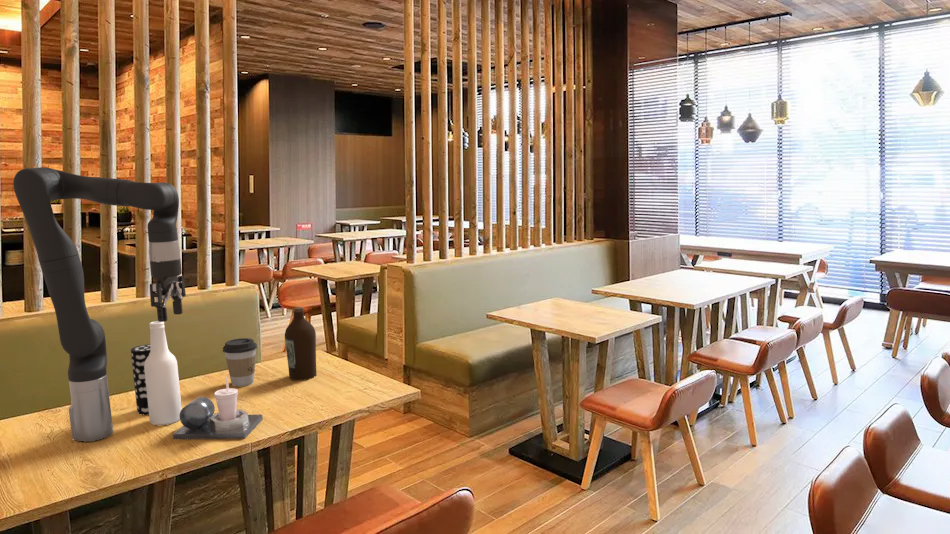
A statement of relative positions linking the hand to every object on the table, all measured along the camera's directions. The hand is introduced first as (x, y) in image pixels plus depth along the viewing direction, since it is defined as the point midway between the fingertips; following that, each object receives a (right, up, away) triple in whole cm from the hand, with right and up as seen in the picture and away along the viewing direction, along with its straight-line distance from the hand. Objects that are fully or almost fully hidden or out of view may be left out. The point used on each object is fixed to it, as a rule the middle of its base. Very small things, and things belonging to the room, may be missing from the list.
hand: (170, 317), depth 178 cm
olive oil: (+21, -26, +58) cm, 66 cm away
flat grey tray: (+9, -33, +11) cm, 36 cm away
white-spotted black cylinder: (-18, -31, +28) cm, 45 cm away
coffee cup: (+1, -27, +52) cm, 58 cm away
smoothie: (+12, -31, +10) cm, 35 cm away
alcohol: (-10, -32, +18) cm, 38 cm away
